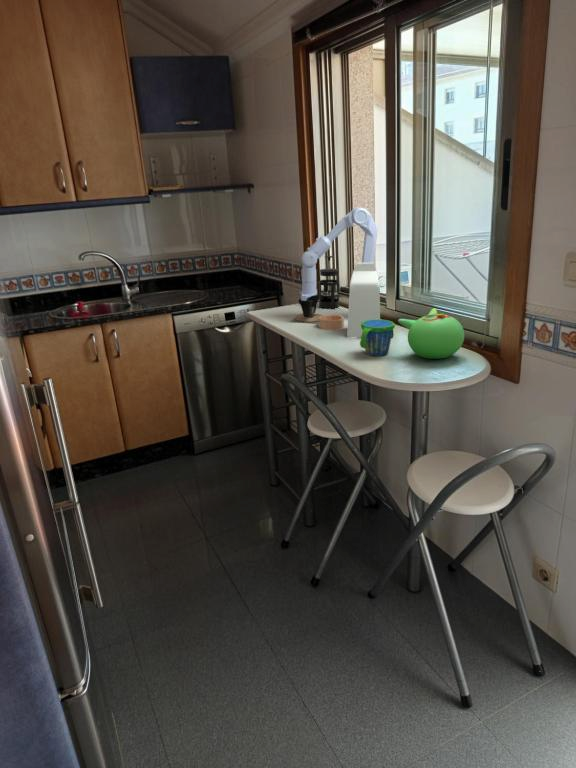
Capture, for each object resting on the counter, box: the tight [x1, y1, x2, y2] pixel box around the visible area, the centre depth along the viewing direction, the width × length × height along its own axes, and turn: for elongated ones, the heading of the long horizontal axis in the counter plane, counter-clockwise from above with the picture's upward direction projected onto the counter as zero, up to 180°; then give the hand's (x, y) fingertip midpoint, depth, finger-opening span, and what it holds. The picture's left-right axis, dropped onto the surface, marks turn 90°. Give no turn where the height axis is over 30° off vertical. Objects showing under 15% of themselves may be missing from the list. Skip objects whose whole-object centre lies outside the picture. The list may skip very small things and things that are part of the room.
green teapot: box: [397, 307, 465, 360], centre depth 170 cm, size 18×17×15 cm
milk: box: [346, 262, 381, 338], centre depth 197 cm, size 12×12×26 cm
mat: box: [289, 318, 319, 325], centre depth 223 cm, size 13×13×1 cm
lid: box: [294, 307, 324, 324], centre depth 222 cm, size 12×12×5 cm
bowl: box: [318, 314, 345, 331], centre depth 210 cm, size 10×10×4 cm
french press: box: [316, 255, 340, 310], centre depth 242 cm, size 12×9×23 cm
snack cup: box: [359, 318, 396, 357], centre depth 176 cm, size 16×10×10 cm
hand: (309, 314), depth 222 cm, fingers open, 7 cm apart
